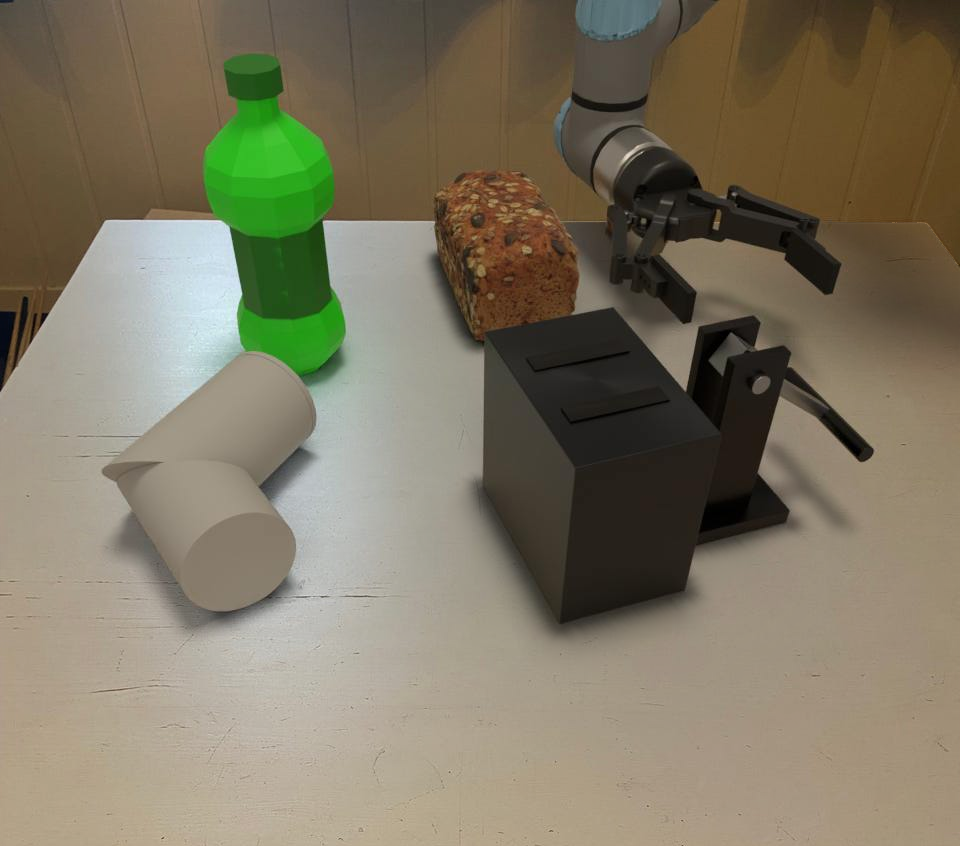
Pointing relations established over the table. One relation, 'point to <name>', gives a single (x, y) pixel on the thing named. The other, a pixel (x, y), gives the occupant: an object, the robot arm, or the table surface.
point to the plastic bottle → (275, 219)
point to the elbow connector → (220, 481)
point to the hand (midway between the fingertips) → (763, 293)
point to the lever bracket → (738, 427)
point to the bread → (504, 251)
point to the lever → (800, 398)
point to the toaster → (594, 461)
